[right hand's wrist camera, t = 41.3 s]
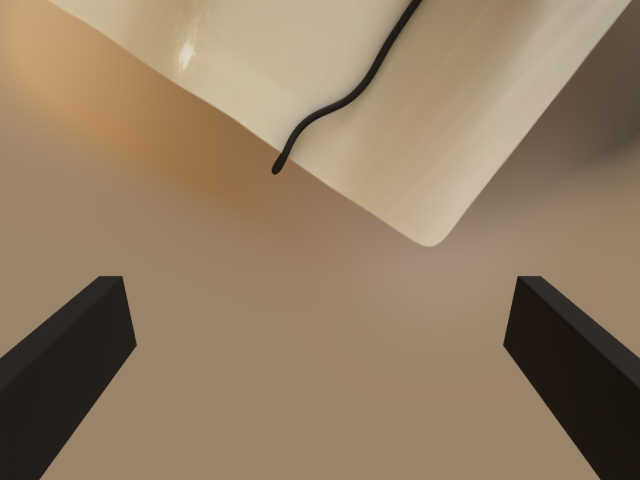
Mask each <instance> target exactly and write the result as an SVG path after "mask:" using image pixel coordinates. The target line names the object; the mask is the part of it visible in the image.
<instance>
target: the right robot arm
mask: <svg viewBox="0 0 640 480" xmlns="http://www.w3.org/2000/svg"><path fill="white" fill-rule="evenodd" d="M421 1H422V0H412V2H411V3H410V5H409V6H408V8H407V9H406V11H405V12H404V13H403V15H402V16H401V18H400V20H399V21H398V23H397V24H396V26H395V27H394V29H393V30H392V32H391V33H390V35H389V36H388V38H387V39H386V41H385V43H384V44H383V46H382V48H381V50H380V52H379V53H378V55H377V57H376V59H375V61H374V63H373V65H372V66H371V68H370V70H369V71H368V73H367V75H366V76H365V78H364V79H363V80H362V82H361V83H360V84H359V85H358V86H357V87H356V88H355V89H354V90H353V91H352V92H351V93H350V94H349V95H348V96H346V97H345V98H343V99H342V100H340V101H338V102H336V103H334V104H331V105H329V106H327V107H325V108H322V109H320V110H318V111H316V112H314V113H312V114H311V115H309V116H308V117H306V118H305V119H304V120H303V121H302V122H301V123H300V124H299V125H298V126H297V127H296V128H295V129H294V131H293V132H292V134H291V135H290V137H289V139H288V141H287V143H286V145H285V147H284V149H283V152H282V153H280V155H279V157H278V158H277V160H276V161H275V163H274V165H273V167H272V170H271V171H272V174H274V175H276V174H278V173H279V172H280V170H281V169H282V167H283V166H284V164H285V162H286V160H287V157H288V155H289V153H290V151H291V148H292V146H293V144H294V142H295V141H296V139H297V137H298V136H299V134H300V133H301V132H302V131H303V130H304V129H305V128H306V127H307V126H308V125H309V124H310V123H312V122H313V121H315V120H316V119H318V118H320V117H322V116H325V115H327V114H329V113H332V112H334V111H336V110H338V109H340V108H342V107H344V106H346V105H347V104H349V103H350V102H352V101H353V100H354V99H355V98H357V97H358V96H359V95H360V94H361V93H362V92H363V91H364V89H365V88H366V87H367V86H368V84H369V83H370V82H371V80H372V79H373V77H374V76H375V74H376V73H377V71H378V69H379V67H380V65H381V64H382V62H383V60H384V58H385V56H386V54H387V53H388V51H389V49H390V47H391V46H392V44H393V42H394V41H395V39H396V38H397V36H398V35H399V33H400V32H401V30H402V29H403V27H404V26H405V24H406V23H407V21H408V20H409V18H410V17H411V15H412V14H413V13H414V11H415V10H416V8H417V7H418V5H419V4H420V2H421ZM136 346H137V344H136V339H135V334H134V329H133V325H132V320H131V315H130V310H129V306H128V301H127V297H126V291H125V287H124V282H123V278H122V276H99V277H98V278H96V279H95V280H94V281H93V282H92V283H91V284H89V285H88V286H87V287H86V288H84V289H83V290H82V291H81V292H80V293H78V294H77V295H76V296H75V297H74V298H72V299H71V300H70V301H69V302H68V303H66V304H65V305H64V306H63V307H62V308H60V309H59V310H58V311H57V312H56V313H54V314H53V315H52V316H51V317H50V318H48V319H47V320H46V321H45V322H44V323H42V324H41V325H40V326H39V327H38V328H36V329H35V330H34V331H33V332H32V333H30V334H29V335H28V336H27V337H26V338H24V339H23V340H22V341H21V342H19V343H18V344H17V345H16V346H15V347H13V348H12V349H11V350H10V351H9V352H7V353H6V354H5V355H4V356H3V357H1V358H0V480H39V479H40V478H41V477H42V475H43V474H44V473H45V471H46V470H47V468H48V467H49V466H50V464H51V463H52V461H53V460H54V459H55V457H56V456H57V455H58V453H59V452H60V451H61V449H62V448H63V446H64V445H65V444H66V442H67V441H68V439H69V438H70V437H71V435H72V434H73V433H74V431H75V430H76V428H77V427H78V426H79V424H80V423H81V422H82V420H83V419H84V417H85V416H86V415H87V413H88V412H89V411H90V409H91V408H92V406H93V405H94V404H95V402H96V401H97V399H98V398H99V397H100V395H101V394H102V393H103V391H104V390H105V388H106V387H107V386H108V384H109V383H110V382H111V380H112V379H113V377H114V376H115V375H116V373H117V372H118V370H119V369H120V368H121V366H122V365H123V364H124V362H125V361H126V359H127V358H128V357H129V355H130V354H131V353H132V351H133V350H134V348H135V347H136ZM503 346H504V347H505V348H506V350H507V351H508V353H509V354H510V355H511V357H512V358H513V360H514V361H515V362H516V364H517V365H518V366H519V368H520V369H521V371H522V372H523V373H524V375H525V376H526V377H527V379H528V380H529V382H530V383H531V384H532V386H533V387H534V388H535V390H536V391H537V393H538V394H539V395H540V397H541V398H542V400H543V401H544V402H545V404H546V405H547V406H548V408H549V409H550V411H551V412H552V413H553V415H554V416H555V417H556V419H557V420H558V422H559V423H560V424H561V426H562V427H563V428H564V430H565V431H566V433H567V434H568V435H569V437H570V438H571V439H572V441H573V442H574V444H575V445H576V446H577V448H578V449H579V451H580V452H581V453H582V455H583V456H584V457H585V459H586V460H587V461H588V463H589V464H590V466H591V467H592V468H593V470H594V471H595V473H596V474H597V475H598V477H599V478H600V479H601V480H640V358H639V357H637V356H636V355H635V354H634V353H633V352H631V351H630V350H629V349H628V348H627V347H625V346H624V345H623V344H622V343H620V342H619V341H618V340H617V339H616V338H614V337H613V336H612V335H611V334H610V333H609V332H607V331H606V330H605V329H604V328H602V327H601V326H600V325H599V324H598V323H596V322H595V321H594V320H593V319H592V318H590V317H589V316H588V315H587V314H586V313H584V312H583V311H582V310H581V309H580V308H578V307H577V306H576V305H575V304H574V303H572V302H571V301H570V300H569V299H568V298H566V297H565V296H564V295H563V294H562V293H560V292H559V291H558V290H557V289H556V288H554V287H553V286H552V285H551V284H549V283H548V282H547V281H546V280H545V279H543V278H542V277H541V276H518V277H517V282H516V287H515V292H514V296H513V301H512V306H511V310H510V315H509V320H508V325H507V329H506V334H505V339H504V344H503Z"/></svg>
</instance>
